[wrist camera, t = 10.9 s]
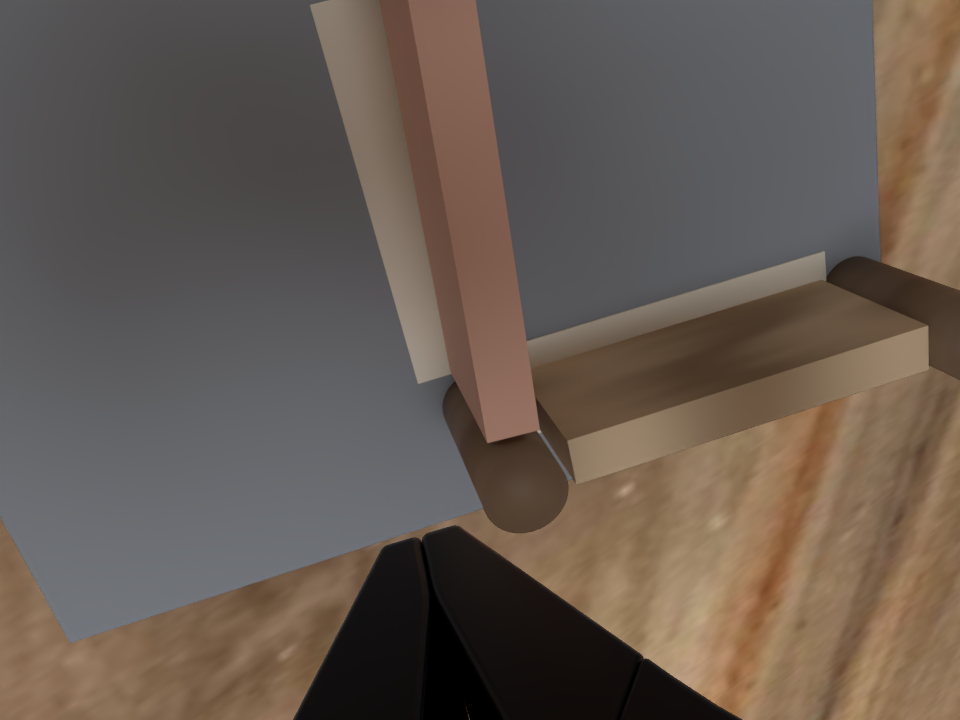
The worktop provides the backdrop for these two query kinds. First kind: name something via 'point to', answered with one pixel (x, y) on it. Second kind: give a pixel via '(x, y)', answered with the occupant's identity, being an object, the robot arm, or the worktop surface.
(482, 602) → the robot arm
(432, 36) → the terracotta panel
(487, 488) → the oak fence
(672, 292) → the mat
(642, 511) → the worktop surface
